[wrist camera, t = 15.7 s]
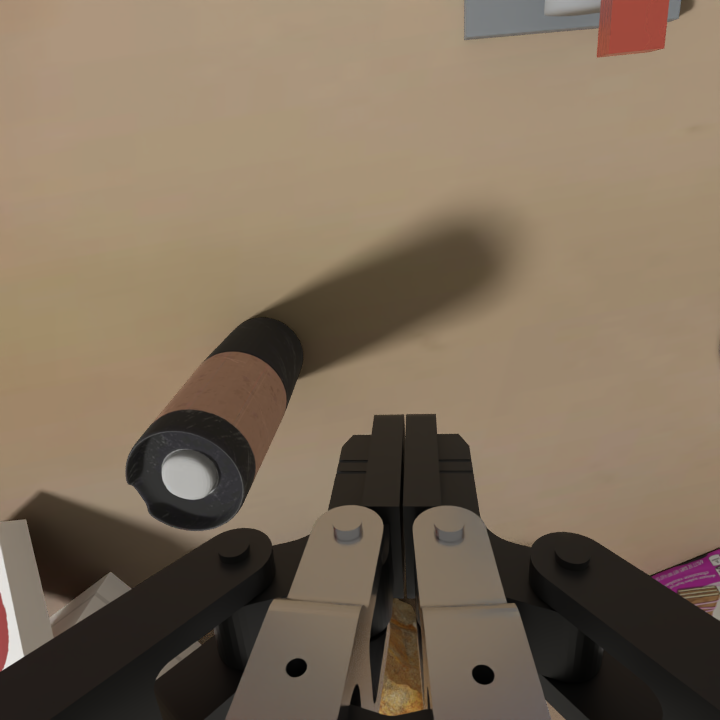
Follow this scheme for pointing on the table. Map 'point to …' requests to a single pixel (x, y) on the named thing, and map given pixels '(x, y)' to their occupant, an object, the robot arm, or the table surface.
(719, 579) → the candy bar box
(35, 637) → the pizza boxes
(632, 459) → the table surface
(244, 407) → the travel mug
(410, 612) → the rough brown rock
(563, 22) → the valve stand
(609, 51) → the lever
